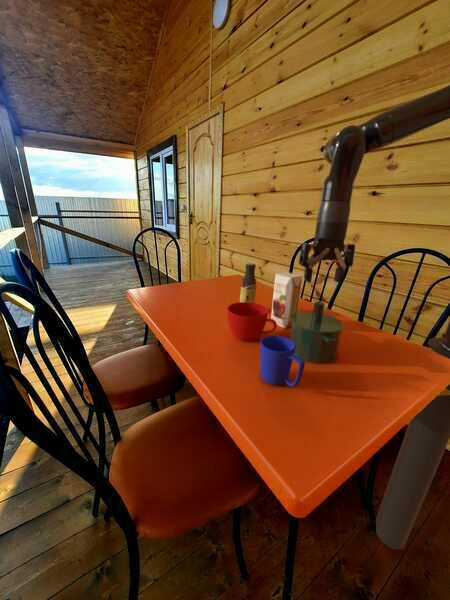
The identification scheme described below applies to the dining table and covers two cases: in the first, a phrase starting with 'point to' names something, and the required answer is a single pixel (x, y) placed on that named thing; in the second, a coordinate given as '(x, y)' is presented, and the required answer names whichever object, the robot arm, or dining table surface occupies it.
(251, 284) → the sauce bottle
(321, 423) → the dining table surface
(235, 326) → the ceramic cup
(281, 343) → the mug
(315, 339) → the pot
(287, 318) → the juice carton
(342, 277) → the robot arm
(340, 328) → the lid
